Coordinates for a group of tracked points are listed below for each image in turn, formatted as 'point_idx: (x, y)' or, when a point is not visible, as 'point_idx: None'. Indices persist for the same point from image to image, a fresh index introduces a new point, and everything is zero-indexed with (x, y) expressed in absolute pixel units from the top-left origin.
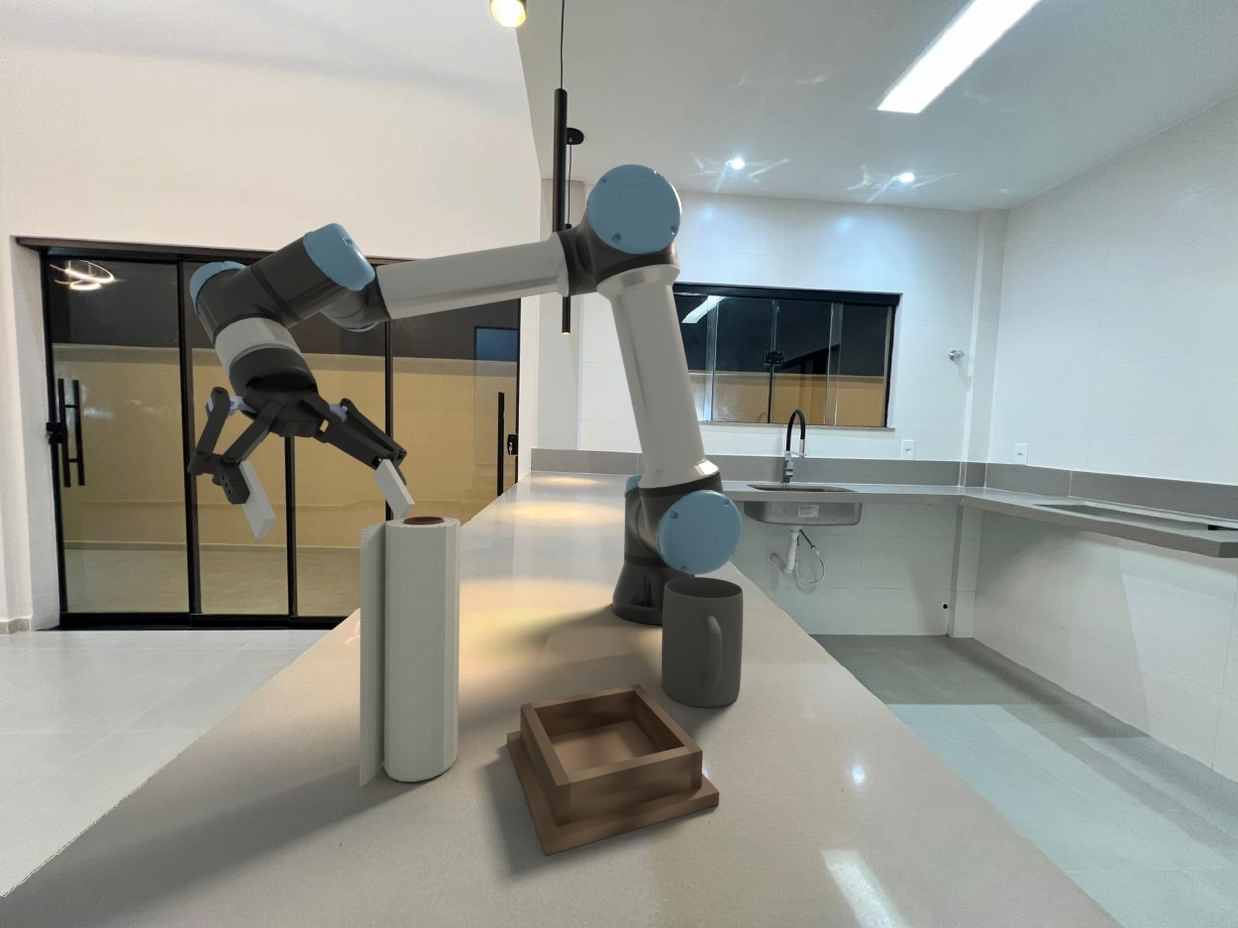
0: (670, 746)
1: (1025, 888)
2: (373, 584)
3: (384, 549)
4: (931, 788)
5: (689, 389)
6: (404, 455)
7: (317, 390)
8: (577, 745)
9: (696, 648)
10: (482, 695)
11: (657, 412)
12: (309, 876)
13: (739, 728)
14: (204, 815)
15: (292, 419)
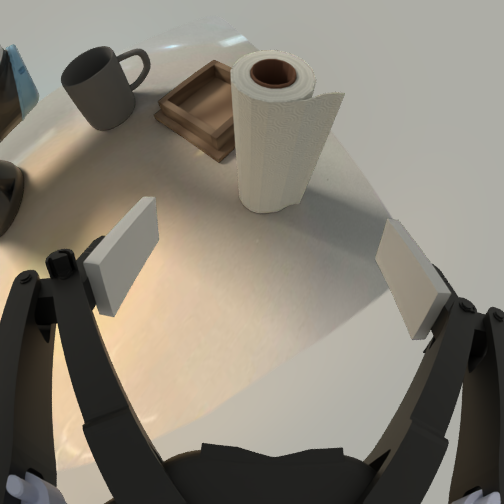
0: (204, 78)
1: (213, 19)
2: (314, 132)
3: (298, 121)
4: (171, 33)
5: None
6: (33, 270)
7: None
8: (210, 121)
9: (124, 78)
10: (172, 219)
11: None
12: (344, 176)
13: (150, 81)
14: (356, 259)
15: (313, 469)
